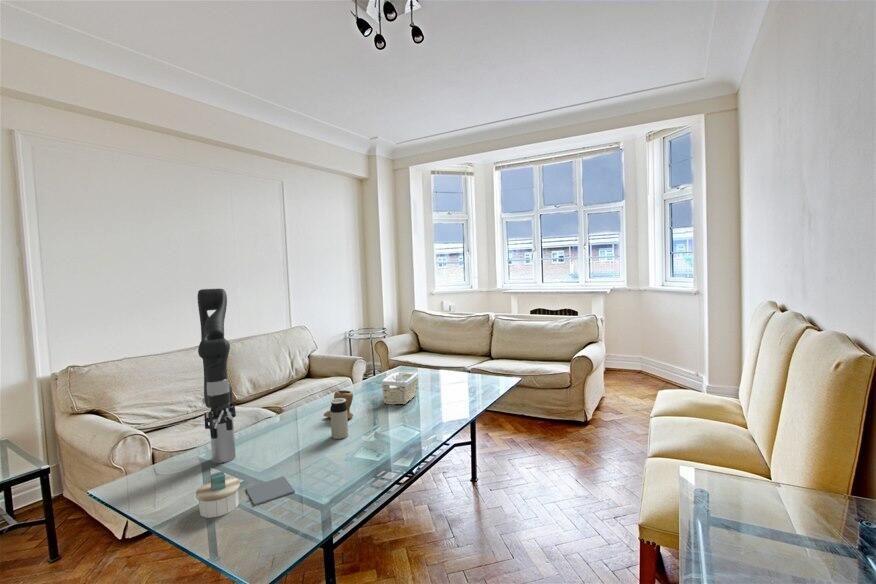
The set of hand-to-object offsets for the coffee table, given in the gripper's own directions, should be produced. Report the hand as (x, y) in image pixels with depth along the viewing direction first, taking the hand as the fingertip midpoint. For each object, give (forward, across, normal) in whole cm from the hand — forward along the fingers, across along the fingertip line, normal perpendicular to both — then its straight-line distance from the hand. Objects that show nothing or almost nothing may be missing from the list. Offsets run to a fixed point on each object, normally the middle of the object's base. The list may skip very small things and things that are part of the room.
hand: (222, 434), depth 161 cm
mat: (+22, 0, +18) cm, 28 cm away
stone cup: (+20, -77, +14) cm, 80 cm away
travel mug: (+21, -51, +24) cm, 60 cm away
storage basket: (+20, -110, +40) cm, 119 cm away
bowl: (+21, +12, +6) cm, 25 cm away
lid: (+15, +12, +6) cm, 21 cm away
